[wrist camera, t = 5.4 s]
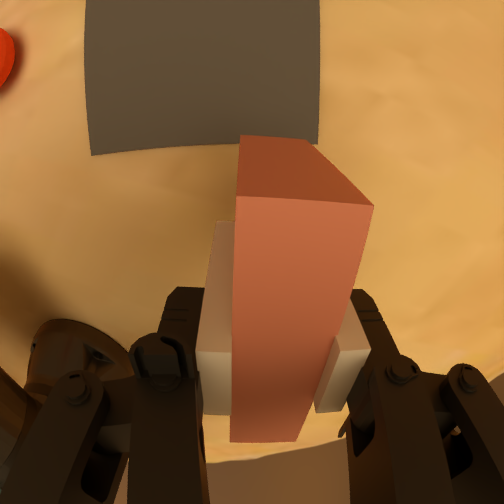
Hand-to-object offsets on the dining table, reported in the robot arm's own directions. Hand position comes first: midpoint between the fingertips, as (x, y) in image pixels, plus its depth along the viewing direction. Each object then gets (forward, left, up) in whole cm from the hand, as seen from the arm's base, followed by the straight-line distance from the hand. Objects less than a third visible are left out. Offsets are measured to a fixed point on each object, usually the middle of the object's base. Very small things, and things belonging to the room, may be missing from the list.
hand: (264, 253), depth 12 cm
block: (0, 0, -1) cm, 1 cm away
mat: (-4, +10, -13) cm, 17 cm away
